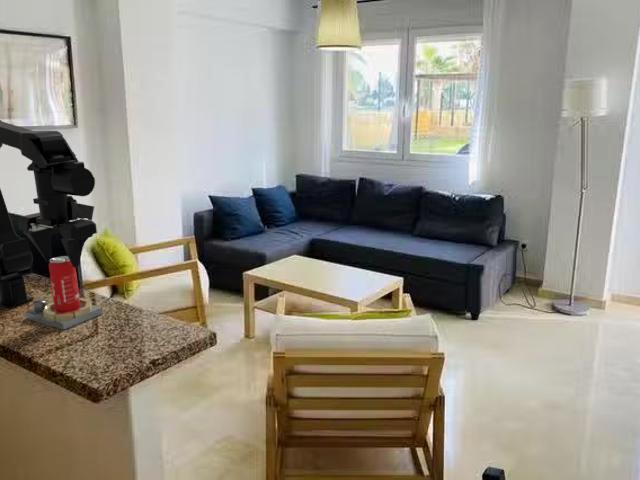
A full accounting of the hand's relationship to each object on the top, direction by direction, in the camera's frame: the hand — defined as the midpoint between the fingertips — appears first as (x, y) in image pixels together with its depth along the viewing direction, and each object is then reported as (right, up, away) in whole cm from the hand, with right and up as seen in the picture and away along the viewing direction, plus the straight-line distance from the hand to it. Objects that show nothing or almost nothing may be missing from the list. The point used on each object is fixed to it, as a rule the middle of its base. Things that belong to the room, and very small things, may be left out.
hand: (62, 263), depth 123 cm
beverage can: (0, -11, +3) cm, 11 cm away
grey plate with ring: (-1, -12, +4) cm, 13 cm away
